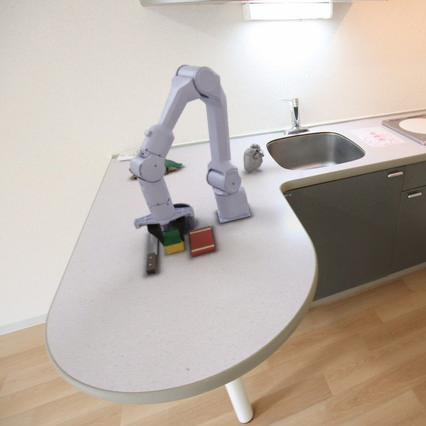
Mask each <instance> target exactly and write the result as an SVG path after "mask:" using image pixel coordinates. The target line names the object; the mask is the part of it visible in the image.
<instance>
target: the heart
mask: <svg viewBox="0 0 426 426" xmlns="http://www.w3.org/2000/svg"><path fill="white" fill-rule="evenodd" d="M242 157H243V158H242V159H243V160H242V161H243V169H244V171H245V172H246V173H250V174H251V173H252V172H254V171H257V170H258V169H259V168H260V167H261V166H262V164H263V160H264V159H263V158H264V157H265V154H264V150H262V148H261V146H260V145H259V144H258V143H252V144H250V146H249V147H247V148H246V149H245V150H244V152H243V156H242Z"/></svg>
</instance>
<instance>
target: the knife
mask: <svg viewBox="0 0 426 426" xmlns="http://www.w3.org/2000/svg"><path fill="white" fill-rule="evenodd" d="M148 243H149V244H148V251H147V259H146V266H145V267H146V269H145V272H146V274H147V275H148V276H151V275H153V274H156V272H157V257H158V251H159V249H158V248H159V240H158V239H157V238H156V237H155V236H153V235H152V234H150V233H149V242H148Z"/></svg>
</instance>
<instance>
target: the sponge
mask: <svg viewBox="0 0 426 426" xmlns="http://www.w3.org/2000/svg"><path fill="white" fill-rule="evenodd" d="M163 235H164V246H163V247H164V249H165V251H166V253H167V255H170V254H174V253H177V252H178V253H179V252H183V251H184V250H185V247H184V246H185V245H184V242H182V240H181V237H180V233H179V231H178V229H177V230H173V231H169V232H165V233H164V234H163Z"/></svg>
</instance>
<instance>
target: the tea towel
mask: <svg viewBox="0 0 426 426" xmlns="http://www.w3.org/2000/svg"><path fill="white" fill-rule="evenodd" d="M189 239H190V249H191V256H192V257H193V258H194V257H197V256H200V255H204V254H209V253H212V252H216V246H215V241H214V236H213V231H212V227H211V225H208V226H204V227H200V228H196V229H195V228H194V229H192V230H191V231H189Z"/></svg>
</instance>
